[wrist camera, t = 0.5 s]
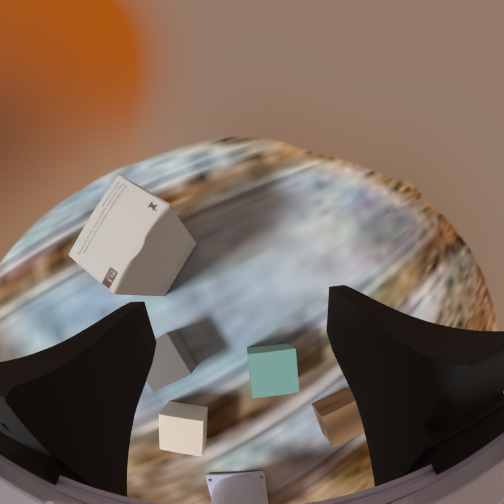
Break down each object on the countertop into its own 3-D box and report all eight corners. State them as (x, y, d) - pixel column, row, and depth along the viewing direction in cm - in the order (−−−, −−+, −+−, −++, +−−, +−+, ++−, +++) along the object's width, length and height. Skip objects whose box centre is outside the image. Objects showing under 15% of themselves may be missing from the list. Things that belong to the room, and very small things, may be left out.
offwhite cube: (206, 438, 29) (202, 456, 24) (169, 432, 29) (159, 449, 24) (208, 406, 30) (203, 421, 25) (169, 400, 30) (159, 414, 25)
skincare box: (162, 221, 34) (119, 166, 20) (200, 245, 34) (174, 199, 19) (128, 275, 33) (63, 252, 18) (164, 301, 32) (112, 295, 18)
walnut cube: (355, 416, 30) (370, 428, 25) (322, 431, 30) (333, 447, 25) (345, 387, 31) (361, 397, 26) (311, 403, 30) (322, 417, 26)
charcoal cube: (197, 364, 31) (190, 373, 26) (164, 380, 30) (153, 391, 25) (177, 329, 32) (166, 332, 27) (144, 346, 31) (130, 352, 26)
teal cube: (290, 380, 31) (299, 391, 26) (250, 385, 31) (252, 398, 26) (287, 342, 32) (295, 348, 27) (246, 347, 32) (247, 354, 27)
